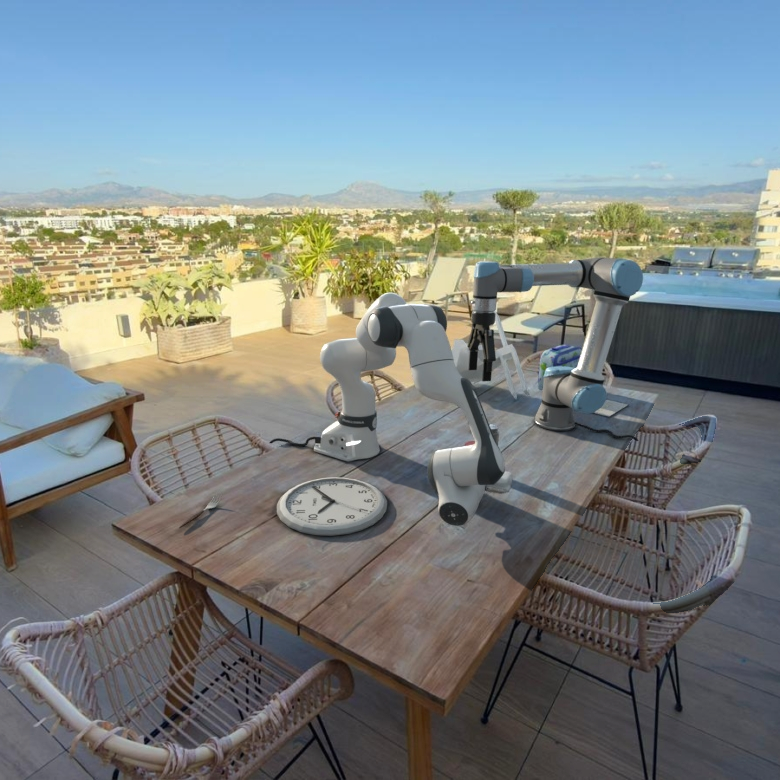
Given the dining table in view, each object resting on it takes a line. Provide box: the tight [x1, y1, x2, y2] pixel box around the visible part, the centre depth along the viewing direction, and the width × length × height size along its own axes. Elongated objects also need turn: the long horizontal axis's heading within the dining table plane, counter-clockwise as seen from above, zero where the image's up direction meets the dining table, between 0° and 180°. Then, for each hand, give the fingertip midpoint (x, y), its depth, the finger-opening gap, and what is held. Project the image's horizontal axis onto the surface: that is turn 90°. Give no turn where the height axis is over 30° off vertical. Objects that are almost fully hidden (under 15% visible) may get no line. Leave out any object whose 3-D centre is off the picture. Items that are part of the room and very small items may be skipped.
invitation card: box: [593, 399, 629, 418], centre depth 226 cm, size 21×1×15 cm
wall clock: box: [276, 476, 388, 537], centre depth 142 cm, size 30×2×30 cm
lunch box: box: [537, 344, 582, 391], centre depth 246 cm, size 26×11×21 cm, turn 134°
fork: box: [178, 493, 223, 529], centre depth 137 cm, size 3×16×2 cm, turn 160°
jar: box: [489, 423, 500, 446], centre depth 160 cm, size 5×5×16 cm
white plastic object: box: [451, 310, 531, 400], centre depth 245 cm, size 37×45×31 cm
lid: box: [464, 440, 475, 446], centre depth 181 cm, size 6×6×2 cm
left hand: (479, 464), depth 150 cm, fingers open, 8 cm apart
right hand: (479, 375), depth 173 cm, fingers open, 13 cm apart
